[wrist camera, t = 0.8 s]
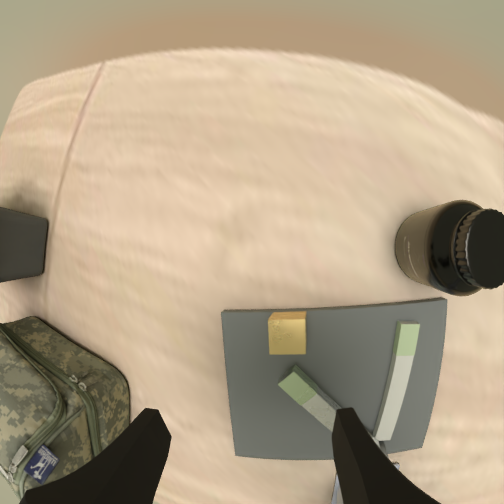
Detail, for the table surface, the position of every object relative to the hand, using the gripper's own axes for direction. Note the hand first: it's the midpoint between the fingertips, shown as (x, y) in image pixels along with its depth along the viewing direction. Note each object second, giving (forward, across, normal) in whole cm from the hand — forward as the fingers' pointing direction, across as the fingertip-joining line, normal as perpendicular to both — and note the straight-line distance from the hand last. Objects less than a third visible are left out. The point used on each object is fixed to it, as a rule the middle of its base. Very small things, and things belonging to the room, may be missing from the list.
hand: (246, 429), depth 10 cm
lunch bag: (+17, +30, +17) cm, 38 cm away
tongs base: (+13, -7, +12) cm, 19 cm away
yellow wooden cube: (+15, -2, +5) cm, 16 cm away
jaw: (+10, -6, +12) cm, 17 cm away
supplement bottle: (+16, -16, -1) cm, 23 cm away
